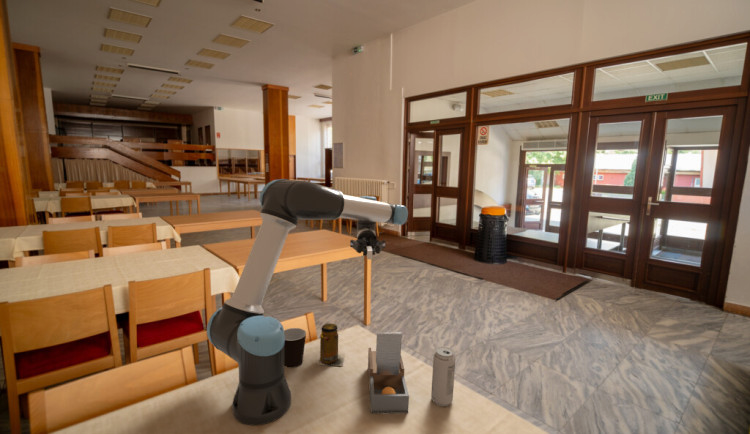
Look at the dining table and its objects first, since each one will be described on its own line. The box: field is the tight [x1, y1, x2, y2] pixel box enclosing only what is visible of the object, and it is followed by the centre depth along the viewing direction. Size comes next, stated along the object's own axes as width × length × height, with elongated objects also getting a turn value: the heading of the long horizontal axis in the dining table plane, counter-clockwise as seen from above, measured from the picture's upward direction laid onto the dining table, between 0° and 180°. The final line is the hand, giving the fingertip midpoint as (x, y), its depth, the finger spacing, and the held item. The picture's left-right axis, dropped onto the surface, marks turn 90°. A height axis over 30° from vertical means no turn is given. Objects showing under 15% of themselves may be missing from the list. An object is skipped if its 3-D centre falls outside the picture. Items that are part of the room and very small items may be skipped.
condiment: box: [316, 323, 346, 367], centre depth 116 cm, size 7×8×12 cm
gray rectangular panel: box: [375, 331, 403, 375], centre depth 99 cm, size 7×1×13 cm, turn 94°
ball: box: [381, 387, 396, 394], centre depth 96 cm, size 4×4×4 cm
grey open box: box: [369, 375, 410, 414], centre depth 97 cm, size 10×9×5 cm
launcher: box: [367, 347, 405, 392], centre depth 107 cm, size 10×12×7 cm
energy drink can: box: [430, 346, 456, 407], centre depth 98 cm, size 6×6×15 cm
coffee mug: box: [284, 327, 307, 369], centre depth 116 cm, size 12×9×10 cm
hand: (369, 255), depth 108 cm, fingers closed
